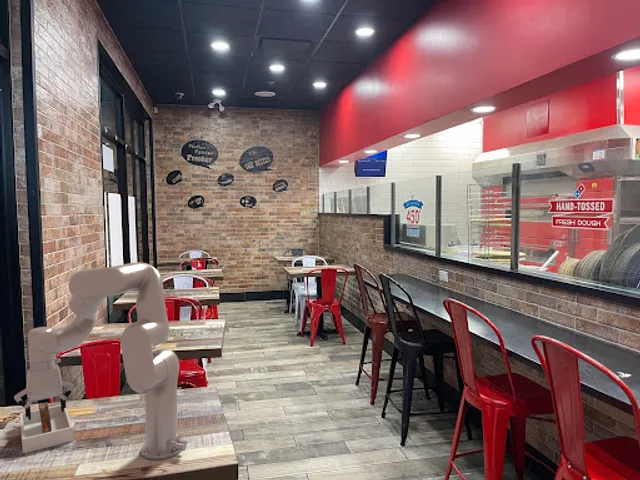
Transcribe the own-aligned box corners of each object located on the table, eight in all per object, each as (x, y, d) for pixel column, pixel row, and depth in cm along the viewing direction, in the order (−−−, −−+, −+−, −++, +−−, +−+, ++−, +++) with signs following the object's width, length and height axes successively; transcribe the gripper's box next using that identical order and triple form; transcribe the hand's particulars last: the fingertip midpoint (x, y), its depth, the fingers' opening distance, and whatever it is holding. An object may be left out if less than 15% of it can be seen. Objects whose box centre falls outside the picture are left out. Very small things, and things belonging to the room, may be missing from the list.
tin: (53, 438, 152) (51, 413, 151) (41, 441, 150) (40, 416, 149) (49, 421, 164) (48, 398, 164) (39, 423, 162) (37, 400, 162)
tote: (20, 426, 162) (19, 413, 162) (65, 415, 170) (65, 403, 170) (22, 453, 144) (22, 439, 144) (73, 440, 152) (73, 427, 152)
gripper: (70, 356, 163) (73, 404, 165) (11, 367, 154) (15, 417, 155) (73, 362, 157) (76, 411, 158) (12, 373, 148) (16, 425, 149)
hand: (46, 414), depth 157 cm, fingers open, 9 cm apart
